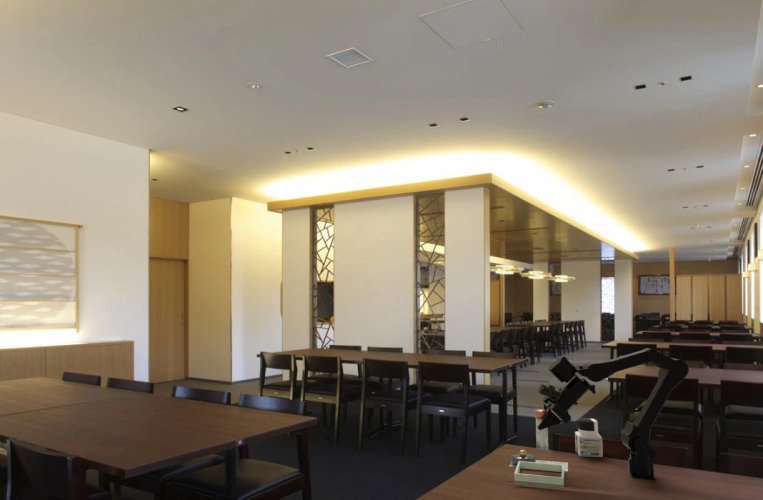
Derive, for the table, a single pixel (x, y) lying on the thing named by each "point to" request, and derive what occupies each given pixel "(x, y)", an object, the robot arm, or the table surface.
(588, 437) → the container
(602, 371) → the robot arm
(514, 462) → the plate
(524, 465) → the tray
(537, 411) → the glass spice jar
